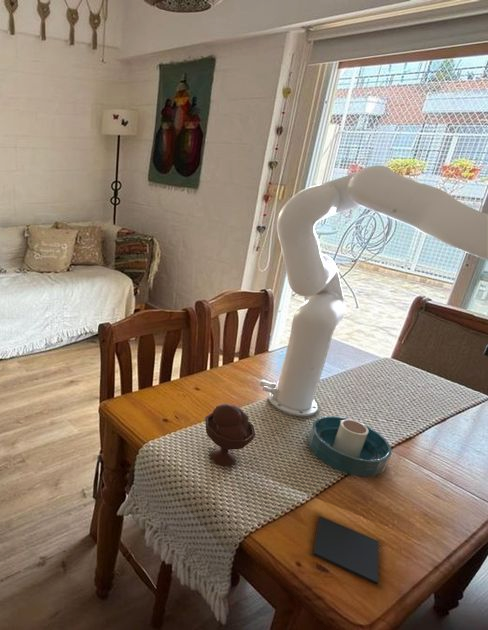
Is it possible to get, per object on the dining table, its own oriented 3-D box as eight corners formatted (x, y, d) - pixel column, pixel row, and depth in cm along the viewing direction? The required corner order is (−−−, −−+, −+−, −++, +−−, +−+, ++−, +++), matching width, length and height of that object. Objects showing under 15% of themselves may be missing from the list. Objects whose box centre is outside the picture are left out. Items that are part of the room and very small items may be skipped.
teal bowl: (303, 459, 104) (308, 442, 102) (311, 424, 116) (316, 408, 114) (384, 489, 96) (392, 472, 94) (384, 448, 108) (391, 432, 106)
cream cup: (330, 453, 105) (339, 428, 102) (333, 440, 109) (341, 416, 106) (358, 463, 102) (368, 437, 99) (359, 450, 107) (369, 424, 103)
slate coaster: (312, 554, 81) (313, 552, 80) (319, 517, 88) (319, 515, 88) (377, 584, 76) (378, 582, 75) (377, 543, 83) (378, 540, 83)
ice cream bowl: (242, 482, 97) (255, 427, 90) (192, 462, 102) (202, 408, 96) (251, 454, 105) (265, 402, 99) (205, 437, 110) (215, 386, 104)
